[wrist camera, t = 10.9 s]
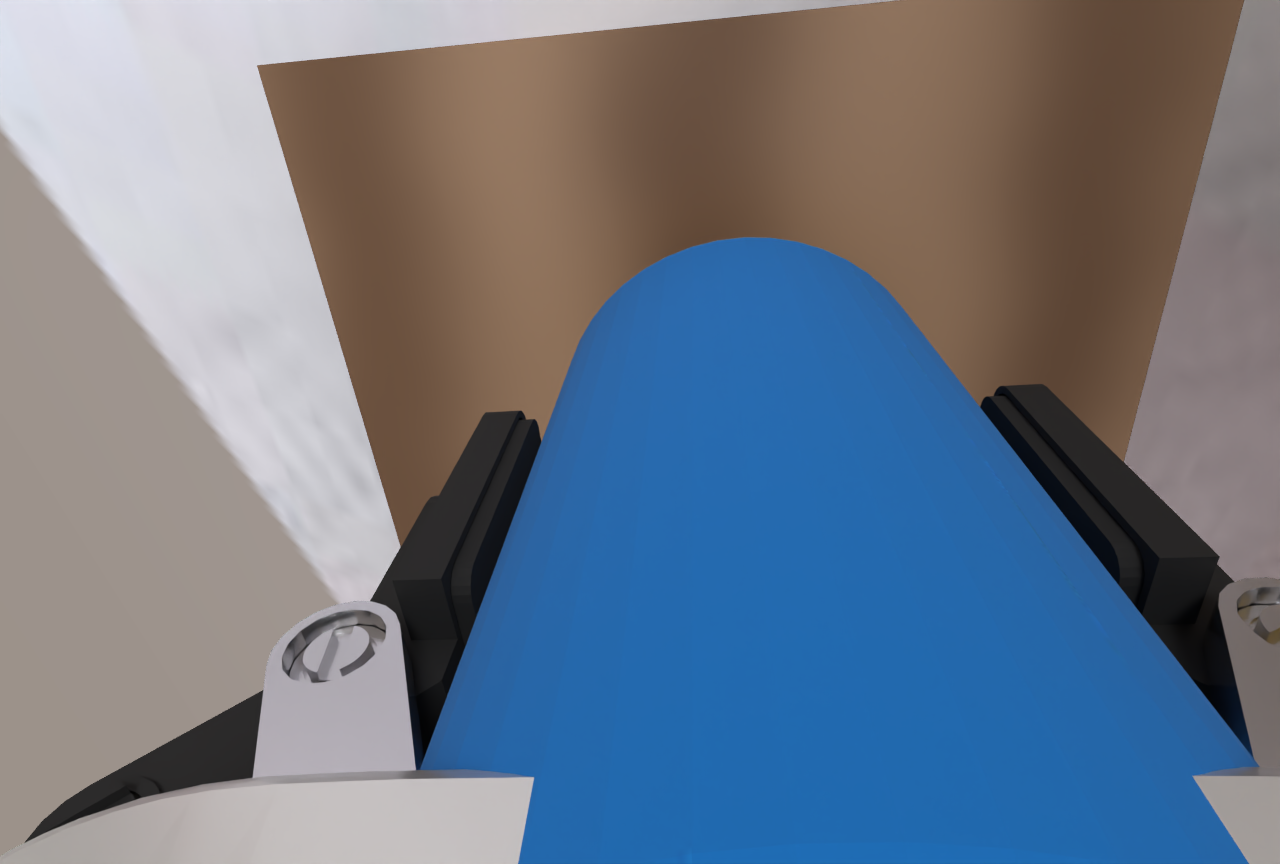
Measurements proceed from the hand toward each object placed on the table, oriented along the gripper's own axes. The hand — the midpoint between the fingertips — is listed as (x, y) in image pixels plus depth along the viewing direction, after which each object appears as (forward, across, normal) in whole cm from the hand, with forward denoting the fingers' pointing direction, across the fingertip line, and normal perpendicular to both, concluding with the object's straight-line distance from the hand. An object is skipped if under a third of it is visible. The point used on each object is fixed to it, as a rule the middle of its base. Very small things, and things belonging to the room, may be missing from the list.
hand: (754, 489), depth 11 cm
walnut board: (+7, 0, 0) cm, 7 cm away
